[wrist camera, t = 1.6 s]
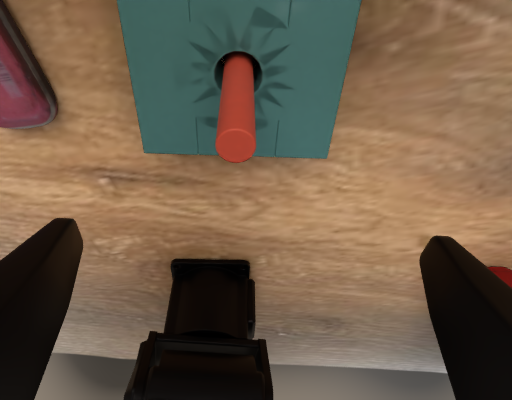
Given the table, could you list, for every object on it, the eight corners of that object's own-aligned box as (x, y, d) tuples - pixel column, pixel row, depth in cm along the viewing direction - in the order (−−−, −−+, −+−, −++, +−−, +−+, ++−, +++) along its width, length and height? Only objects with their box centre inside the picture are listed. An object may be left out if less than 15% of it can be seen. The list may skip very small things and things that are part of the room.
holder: (154, 125, 22) (143, 153, 20) (127, -57, 16) (107, -46, 14) (318, 131, 22) (327, 159, 20) (351, -44, 16) (368, -31, 14)
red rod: (225, 65, 20) (215, 162, 13) (225, 38, 19) (214, 128, 12) (251, 66, 20) (255, 164, 13) (253, 39, 19) (257, 129, 12)
